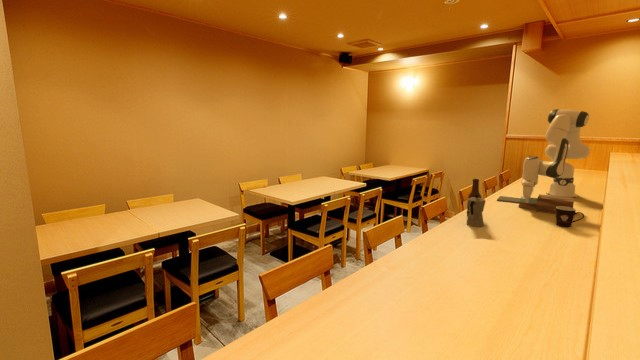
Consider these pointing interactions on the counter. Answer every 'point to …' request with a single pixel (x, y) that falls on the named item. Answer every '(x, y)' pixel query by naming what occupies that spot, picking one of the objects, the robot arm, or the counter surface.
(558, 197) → the walnut case
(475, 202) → the coffeepot
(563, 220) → the coffee mug
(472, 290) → the counter surface
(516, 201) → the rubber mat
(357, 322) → the counter surface
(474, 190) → the beer bottle
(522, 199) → the cover plate
